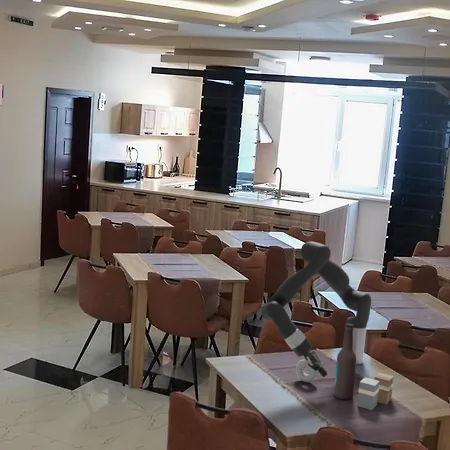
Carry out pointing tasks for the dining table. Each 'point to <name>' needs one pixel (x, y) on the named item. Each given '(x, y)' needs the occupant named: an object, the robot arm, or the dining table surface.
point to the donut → (302, 374)
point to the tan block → (384, 387)
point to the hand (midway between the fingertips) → (325, 375)
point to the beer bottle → (346, 366)
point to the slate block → (368, 393)
